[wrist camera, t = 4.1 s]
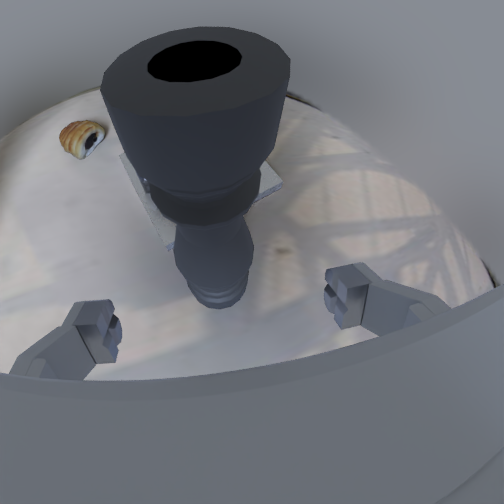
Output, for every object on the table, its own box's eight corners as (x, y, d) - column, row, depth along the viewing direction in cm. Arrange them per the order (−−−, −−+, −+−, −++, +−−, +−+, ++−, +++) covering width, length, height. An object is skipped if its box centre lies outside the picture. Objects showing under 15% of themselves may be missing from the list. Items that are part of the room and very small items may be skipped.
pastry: (54, 149, 35) (45, 135, 32) (80, 122, 38) (73, 107, 34) (83, 164, 34) (74, 148, 31) (111, 134, 37) (105, 117, 33)
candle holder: (178, 282, 29) (64, 84, 6) (216, 243, 31) (202, 15, 8) (220, 321, 28) (180, 170, 5) (258, 278, 30) (337, 65, 7)
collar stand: (168, 251, 30) (145, 207, 21) (121, 161, 34) (99, 111, 25) (281, 188, 35) (297, 133, 25) (218, 116, 38) (217, 64, 29)
